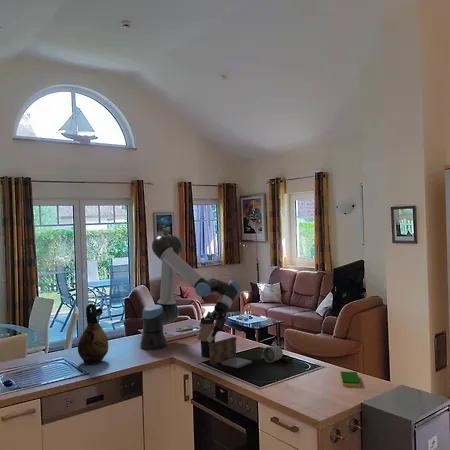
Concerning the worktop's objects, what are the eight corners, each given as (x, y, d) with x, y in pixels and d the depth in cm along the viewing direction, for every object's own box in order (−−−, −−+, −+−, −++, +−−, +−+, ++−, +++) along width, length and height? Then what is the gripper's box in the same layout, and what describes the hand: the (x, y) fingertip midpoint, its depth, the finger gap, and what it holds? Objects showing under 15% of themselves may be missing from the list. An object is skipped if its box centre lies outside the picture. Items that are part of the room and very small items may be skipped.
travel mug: (210, 358, 235) (209, 320, 235) (198, 356, 239) (197, 319, 239) (218, 354, 241) (217, 317, 242) (206, 353, 245) (205, 316, 246)
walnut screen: (212, 365, 224) (212, 344, 224) (208, 364, 225) (208, 344, 225) (237, 356, 237) (236, 337, 237) (233, 355, 239) (233, 336, 239)
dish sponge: (356, 377, 201) (356, 371, 201) (360, 388, 188) (360, 382, 188) (340, 376, 203) (340, 371, 203) (342, 387, 189) (342, 381, 189)
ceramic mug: (284, 360, 229) (283, 344, 229) (274, 363, 223) (274, 348, 223) (267, 356, 236) (266, 342, 236) (257, 360, 230) (257, 345, 230)
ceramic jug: (114, 361, 234) (113, 303, 234) (87, 368, 223) (86, 308, 223) (97, 355, 246) (96, 300, 246) (70, 362, 234) (69, 304, 235)
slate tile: (221, 364, 225) (220, 362, 225) (235, 359, 233) (235, 357, 233) (237, 368, 217) (237, 366, 217) (251, 362, 225) (251, 360, 225)
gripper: (240, 311, 245) (220, 347, 233) (213, 307, 259) (193, 341, 246) (233, 302, 241) (213, 338, 229) (206, 299, 255) (186, 333, 243)
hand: (203, 340), depth 238 cm, fingers closed on travel mug, 7 cm apart
